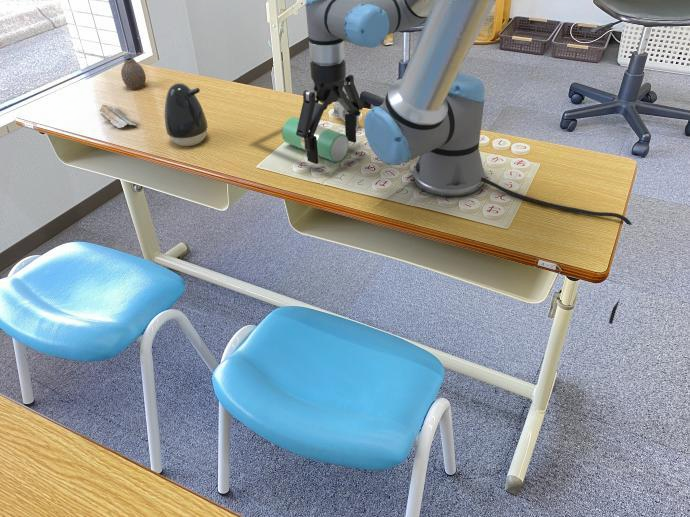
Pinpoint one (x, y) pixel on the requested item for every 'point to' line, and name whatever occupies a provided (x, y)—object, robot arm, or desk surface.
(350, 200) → the desk surface
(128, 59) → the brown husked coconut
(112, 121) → the fossil
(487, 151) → the desk surface
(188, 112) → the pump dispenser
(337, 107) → the garden wall model
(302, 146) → the can
